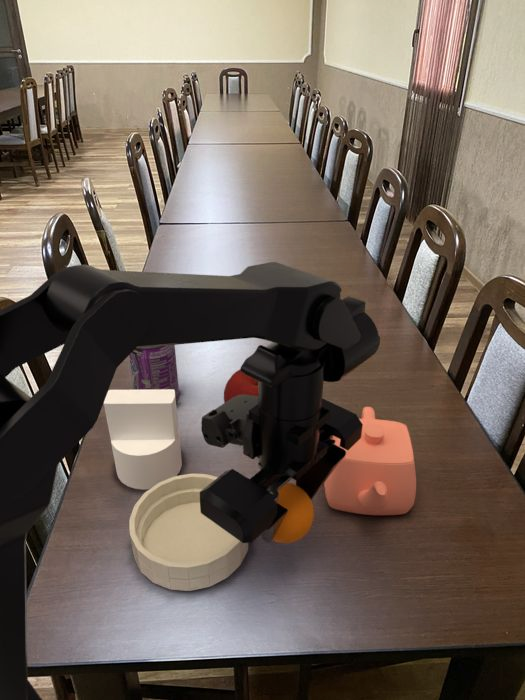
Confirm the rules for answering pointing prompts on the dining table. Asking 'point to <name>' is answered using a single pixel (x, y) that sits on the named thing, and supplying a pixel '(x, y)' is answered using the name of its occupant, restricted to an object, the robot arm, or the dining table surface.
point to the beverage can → (154, 368)
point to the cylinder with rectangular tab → (144, 435)
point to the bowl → (181, 537)
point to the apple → (240, 386)
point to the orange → (294, 514)
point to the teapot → (375, 470)
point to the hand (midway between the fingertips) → (284, 521)
